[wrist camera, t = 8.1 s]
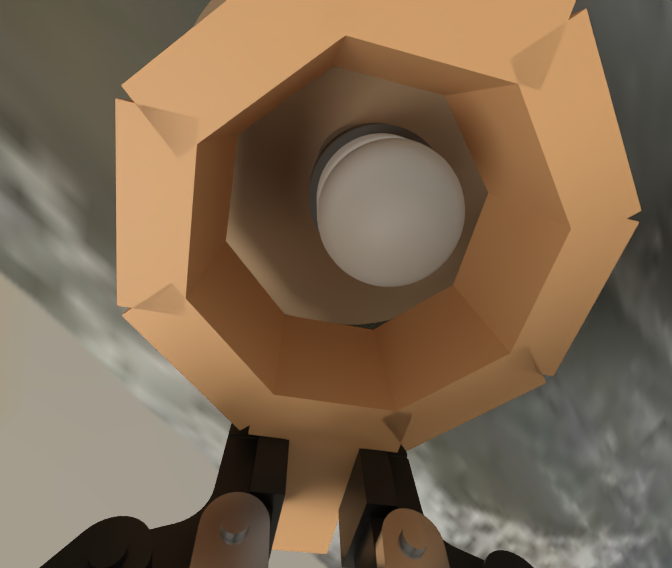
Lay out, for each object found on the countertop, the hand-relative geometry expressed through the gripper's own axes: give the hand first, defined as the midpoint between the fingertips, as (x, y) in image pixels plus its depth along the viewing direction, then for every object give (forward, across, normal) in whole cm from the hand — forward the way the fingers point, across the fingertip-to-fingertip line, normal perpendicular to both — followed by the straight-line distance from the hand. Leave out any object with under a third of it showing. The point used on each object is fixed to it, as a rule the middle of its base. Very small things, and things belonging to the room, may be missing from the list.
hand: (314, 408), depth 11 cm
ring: (+1, 0, -4) cm, 4 cm away
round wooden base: (+5, 0, -7) cm, 8 cm away
